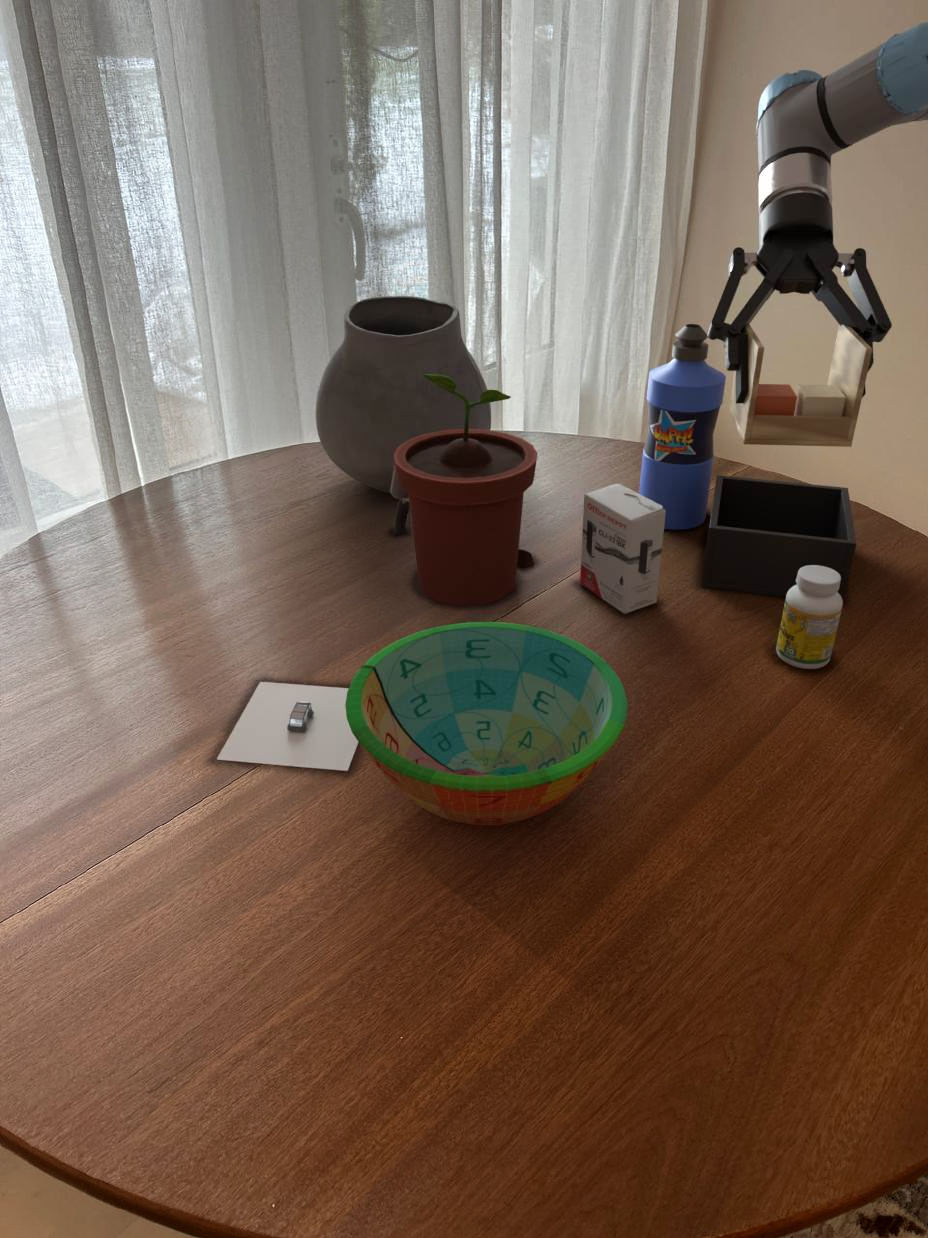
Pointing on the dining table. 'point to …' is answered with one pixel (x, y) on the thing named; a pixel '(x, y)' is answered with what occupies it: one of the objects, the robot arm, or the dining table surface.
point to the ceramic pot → (394, 384)
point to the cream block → (819, 401)
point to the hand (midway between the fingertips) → (799, 398)
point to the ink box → (622, 547)
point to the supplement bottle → (810, 618)
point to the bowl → (486, 718)
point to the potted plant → (464, 506)
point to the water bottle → (682, 431)
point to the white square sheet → (293, 728)
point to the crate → (805, 430)
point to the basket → (776, 534)
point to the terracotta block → (775, 400)
